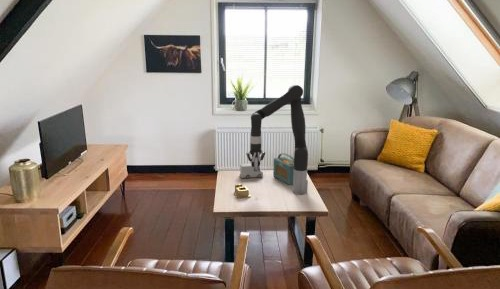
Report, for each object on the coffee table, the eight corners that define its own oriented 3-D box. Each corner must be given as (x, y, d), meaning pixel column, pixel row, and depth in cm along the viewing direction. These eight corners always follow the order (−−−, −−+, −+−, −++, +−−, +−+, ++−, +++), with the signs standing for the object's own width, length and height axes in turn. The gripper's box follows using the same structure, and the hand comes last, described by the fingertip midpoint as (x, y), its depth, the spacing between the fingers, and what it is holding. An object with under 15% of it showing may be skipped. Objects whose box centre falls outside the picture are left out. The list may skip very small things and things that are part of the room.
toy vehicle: (263, 177, 291) (263, 165, 289) (241, 179, 287) (241, 166, 285) (260, 174, 299) (260, 162, 297) (239, 175, 296) (239, 163, 293)
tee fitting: (244, 190, 262) (244, 183, 261) (250, 197, 250) (250, 190, 249) (232, 192, 259) (232, 185, 258) (238, 198, 247) (238, 191, 246)
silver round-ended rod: (257, 169, 257) (257, 156, 255) (258, 171, 254) (259, 157, 252) (252, 170, 256) (252, 156, 254) (254, 171, 253) (254, 157, 251)
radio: (272, 175, 296) (272, 151, 291) (283, 174, 300) (284, 150, 296) (289, 185, 273) (290, 159, 268) (301, 183, 278) (302, 158, 273)
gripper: (263, 140, 256) (263, 164, 260) (244, 141, 252) (244, 166, 256) (267, 142, 249) (267, 167, 253) (247, 144, 245) (247, 169, 249)
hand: (255, 166), depth 254 cm, fingers closed on silver round-ended rod, 3 cm apart
